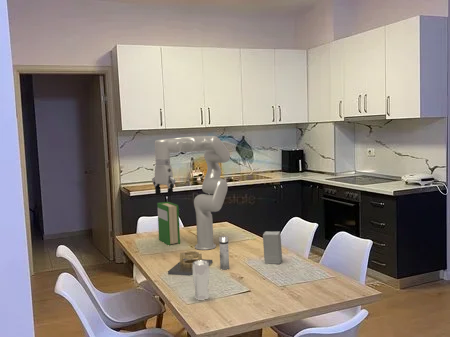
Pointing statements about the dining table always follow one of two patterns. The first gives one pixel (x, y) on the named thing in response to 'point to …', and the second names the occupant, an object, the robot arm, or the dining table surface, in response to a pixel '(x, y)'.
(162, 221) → the hardback book
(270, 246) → the skincare box
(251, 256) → the dining table surface
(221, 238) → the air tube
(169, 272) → the collar stand
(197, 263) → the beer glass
